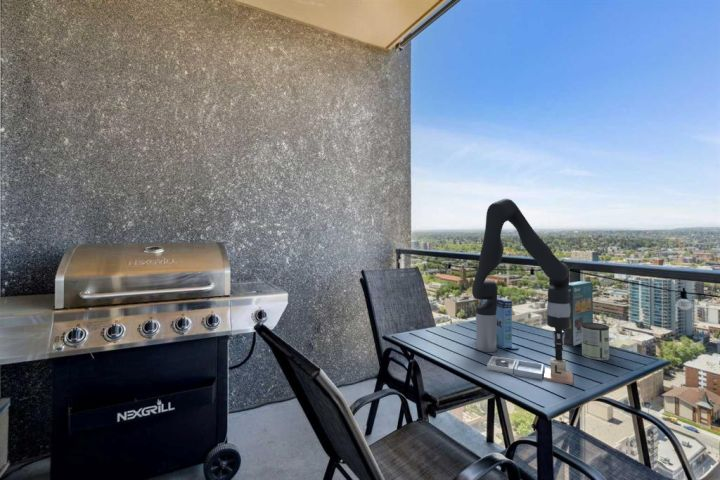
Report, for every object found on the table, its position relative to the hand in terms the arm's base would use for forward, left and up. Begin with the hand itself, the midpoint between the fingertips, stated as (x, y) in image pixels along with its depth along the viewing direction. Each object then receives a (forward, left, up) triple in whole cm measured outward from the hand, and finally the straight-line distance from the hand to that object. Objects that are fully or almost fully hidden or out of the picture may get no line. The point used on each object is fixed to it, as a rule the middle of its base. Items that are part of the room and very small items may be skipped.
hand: (558, 356), depth 128 cm
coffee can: (-34, +14, -8) cm, 38 cm away
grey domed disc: (+1, -20, -7) cm, 21 cm away
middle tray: (+1, -10, -8) cm, 13 cm away
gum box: (-35, -28, -8) cm, 46 cm away
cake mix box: (-58, +8, -8) cm, 60 cm away
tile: (+1, 0, -8) cm, 8 cm away
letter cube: (0, 0, -7) cm, 7 cm away
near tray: (+1, -20, -8) cm, 22 cm away
